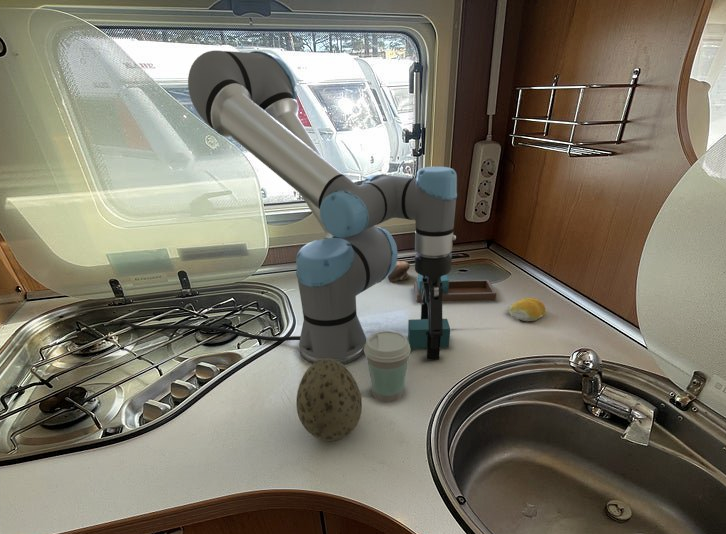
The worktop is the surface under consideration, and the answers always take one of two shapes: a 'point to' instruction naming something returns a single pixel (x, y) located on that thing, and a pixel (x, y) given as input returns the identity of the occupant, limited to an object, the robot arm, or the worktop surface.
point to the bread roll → (527, 309)
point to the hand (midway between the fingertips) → (429, 343)
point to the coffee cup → (387, 364)
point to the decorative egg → (328, 400)
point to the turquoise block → (443, 279)
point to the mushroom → (399, 271)
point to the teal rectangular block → (418, 333)
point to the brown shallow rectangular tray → (465, 291)
